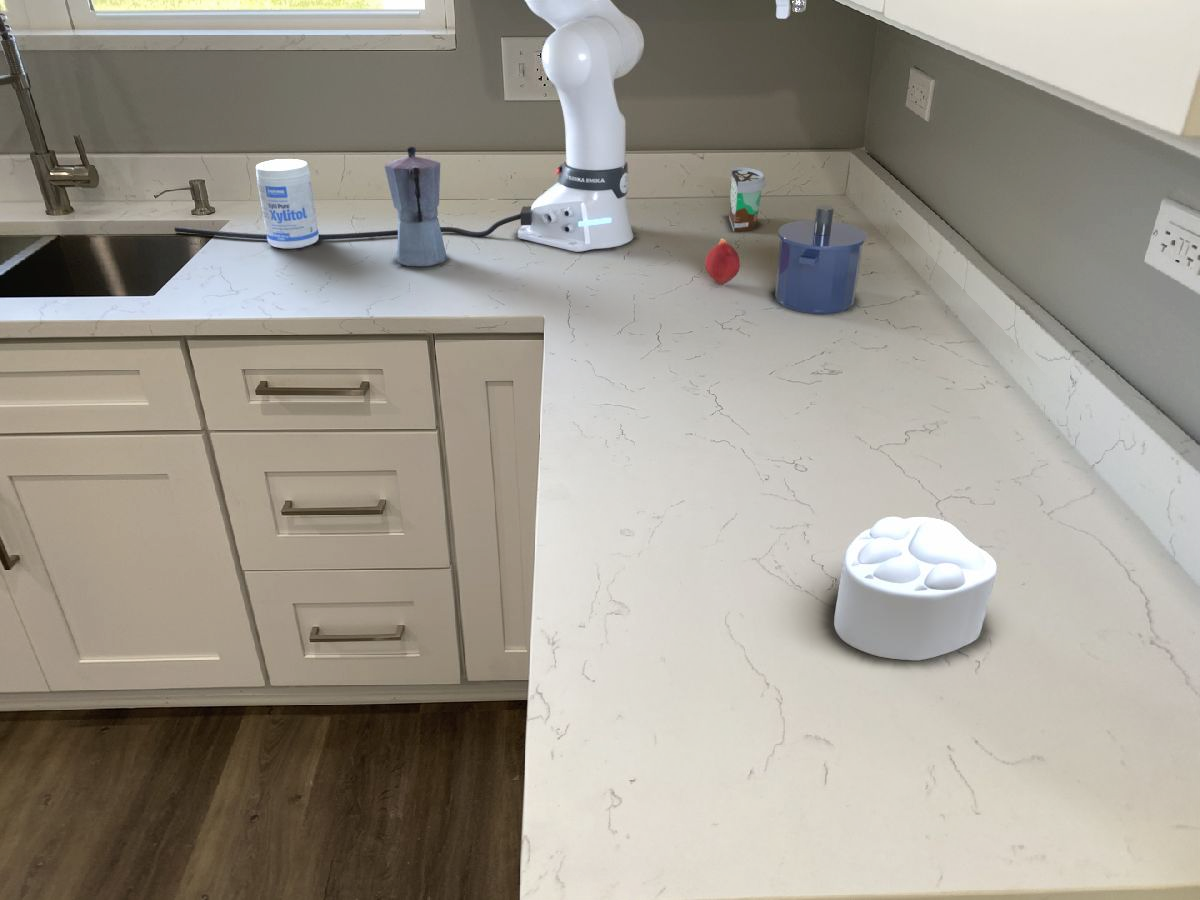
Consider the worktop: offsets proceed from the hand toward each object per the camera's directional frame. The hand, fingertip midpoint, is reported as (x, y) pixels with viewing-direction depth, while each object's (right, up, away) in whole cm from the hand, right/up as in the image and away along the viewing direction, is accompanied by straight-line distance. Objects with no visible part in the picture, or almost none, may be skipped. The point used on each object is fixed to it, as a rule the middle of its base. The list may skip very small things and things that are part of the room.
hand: (790, 15), depth 142 cm
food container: (0, -22, +44) cm, 49 cm away
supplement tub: (-88, -27, +36) cm, 99 cm away
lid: (+6, -33, +4) cm, 34 cm away
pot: (+6, -42, +10) cm, 44 cm away
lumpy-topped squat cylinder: (-2, -83, -57) cm, 100 cm away
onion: (-9, -39, +15) cm, 43 cm away
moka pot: (-61, -33, +26) cm, 74 cm away
